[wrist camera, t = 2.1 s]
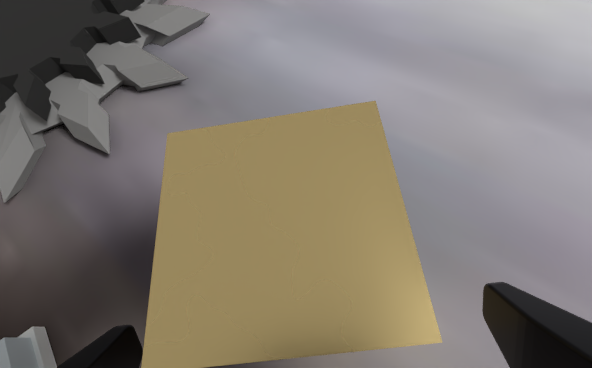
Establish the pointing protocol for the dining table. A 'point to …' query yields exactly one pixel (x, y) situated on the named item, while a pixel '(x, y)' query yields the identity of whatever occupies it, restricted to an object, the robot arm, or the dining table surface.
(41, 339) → the white shallow tray
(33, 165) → the decorative piece
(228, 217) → the billet
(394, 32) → the dining table surface
